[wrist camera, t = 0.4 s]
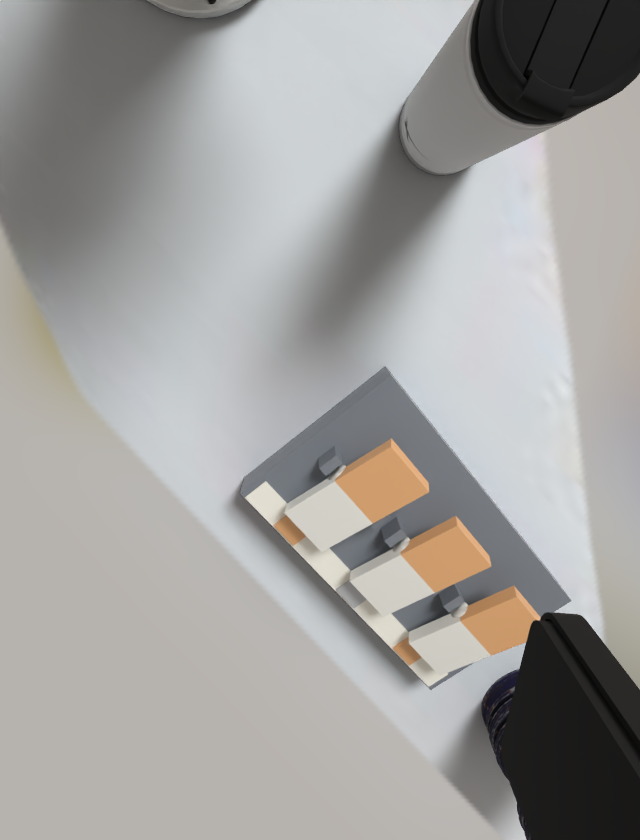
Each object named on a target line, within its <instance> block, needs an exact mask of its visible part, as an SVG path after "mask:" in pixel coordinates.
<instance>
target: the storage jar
mask: <svg viewBox="0 0 640 840" xmlns="http://www.w3.org/2000/svg"><path fill="white" fill-rule="evenodd" d="M519 670H520V669H519ZM519 670H515V671H513V672H510V673H508V674H506V675H505V676H503V677H501V678H500V679H499V680H497V681H496V682H495V683H494V684H493V685H492V686H491V687H490V689H489V690H488V691H487V693H486V695H485V697H484V699H483V703H482V716H483V719H484V722H485V725H486V727H487V729H488V733H489V738H490V742H491V745H492V747H493V750H494V753H495V755H496V759H497V762H498V764H499V766H500V768H501V770H502V772H503V773H504V775H505V776H506V777H507V778H508V776H507V773H506V770H505V768H504V764H503V761H502V754H501V742H502V737H503V733H504V729H505V725H506V721H507V717H508V713H509V709H510V705H511V701H512V697H513V693H514V689H515V685H516V681H517V677H518V674H519ZM508 780H509V778H508ZM509 782H510V781H509ZM510 785H511V783H510ZM511 787H512V786H511ZM512 790H513V789H512ZM513 793H514V791H513ZM514 795H515V794H514ZM515 798H516V796H515ZM516 801H517V799H516ZM517 811H518V815H519V820H520V824H521V826H522V828H523V830H524V831H525V836H526V839H527V840H532V838H531V836H530V833H529V830H528V828H527V825H526V822H525V820H524V817H523V815H522V812H521V809H520V807H519V804H518V802H517Z"/></svg>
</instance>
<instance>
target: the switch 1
mask: <svg viewBox="0 0 640 840" xmlns="http://www.w3.org/2000/svg"><path fill="white" fill-rule="evenodd" d="M427 493H429V483H428V481H427V480H426V479H425V478H424V477H423V475H422V474H421V473H420V472H419V471H418V469H417V468H416V467H415V466H414V465H413V463H412V462H411V461H410V460H409V459H408V457H407V456H406V455H405V454H404V453H403V451H402V450H401V449H400V448H399V447H398V445H397V444H396V443H395V442H394V441H393V439H392V438H391V439H390V440H388V441H386V442H385V443H383V444H382V445H380V446H378V447H377V448H375V449H374V450H372V451H370V452H369V453H367V454H366V455H364V456H362V457H361V458H359V459H358V460H356V461H354V462H353V463H351V464H350V465H348V466H345V465H341V466H339V467H337V468H336V469H335V470H333V472H332V473H331V474H330V475H329V478H327V479H326V480H324V481H322V482H321V483H319V484H318V485H316V486H314V487H313V488H311V489H310V490H308V491H306V492H305V493H303V494H302V495H300V496H298V497H297V498H295V499H294V500H292V501H290V502H289V503H287V506H286V509H285V511H284V513H285V514H286V515H287V516H288V517H289V518H290V519H291V520H292V522H293V523H294V524H295V525H296V526H297V527H298V528H299V529H300V530H301V531H302V532H303V533H304V534H305V535H306V536H307V537H308V538H309V539H310V540H311V541H312V542H313V544H314V545H315V546H316V547H317V548H318V549H319V550H320V551H321V552H323V551H324V550H326V549H328V548H330V547H332V546H333V545H335V544H337V543H339V542H341V541H342V540H344V539H346V538H348V537H350V536H351V535H353V534H355V533H357V532H359V531H360V530H362V529H364V528H366V527H368V526H369V525H371V524H373V523H375V522H376V521H378V520H380V519H382V518H384V517H385V516H387V515H389V514H391V513H393V512H394V511H396V510H398V509H400V508H402V507H403V506H405V505H407V504H409V503H411V502H412V501H414V500H416V499H418V498H420V497H421V496H423V495H425V494H427Z"/></svg>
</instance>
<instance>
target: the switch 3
mask: <svg viewBox="0 0 640 840" xmlns="http://www.w3.org/2000/svg"><path fill="white" fill-rule="evenodd" d="M540 619H541V617H540V616H539V615H538V614H537V612H536V611H535V610H534V609H533V608H532V606H531V605H530V604H529V603H528V602H527V600H526V599H525V598H524V597H523V596H522V594H521V593H520V592H519V591H518V590H517V588H516V587H515V586H511V587H509V588H507V589H505V590H502V591H500V592H498V593H496V594H493V595H491V596H489V597H487V598H484V599H482V600H480V601H478V602H475V603H473V604H471V605H467V603H465V602H464V603H463V604H461V605H460V606H458V607H457V608H455V609H454V610H452V611H451V613H450V614H448V615H446V616H444V617H441V618H439V619H437V620H435V621H432V622H430V623H428V624H425V625H423V626H421V627H419V628H416V629H414V630H412V631H410V632H409V644H410V645H411V646H412V647H413V648H414V649H415V650H416V652H417V653H418V654H419V655H420V656H421V657H422V658H423V659H424V660H425V661H426V662H427V663H428V664H429V665H430V666H431V667H432V668H433V669H434V670H435V671H436V672H437V674H438V675H439V676H440V675H443V674H446V673H448V672H451V671H453V670H456V669H458V668H461V667H463V666H466V665H469V664H471V663H474V662H476V661H479V660H481V659H484V658H486V657H489V656H491V655H494V654H497V653H499V652H502V651H504V650H507V649H509V648H512V647H514V646H517V645H520V644H522V643H525V642H527V638H528V634H529V630H530V626H531V624H532V622H533V621H535V620H540Z"/></svg>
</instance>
